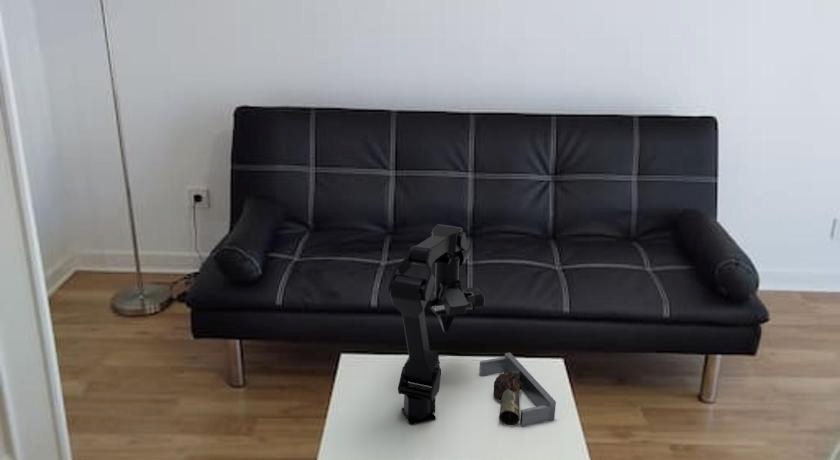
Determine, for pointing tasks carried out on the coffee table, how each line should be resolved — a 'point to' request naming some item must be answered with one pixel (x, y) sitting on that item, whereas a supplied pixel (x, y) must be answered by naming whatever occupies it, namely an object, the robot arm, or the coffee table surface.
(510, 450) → the coffee table surface
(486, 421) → the coffee table surface
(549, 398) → the grey u-shaped bracket
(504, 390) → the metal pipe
